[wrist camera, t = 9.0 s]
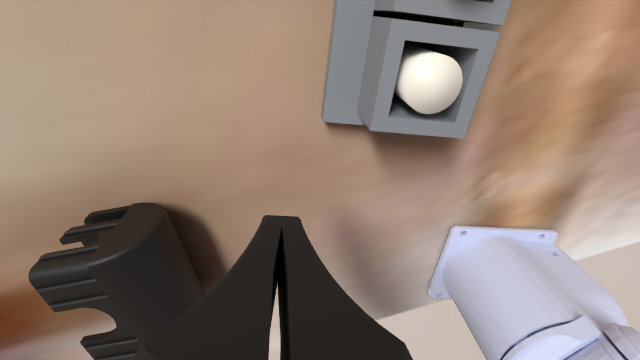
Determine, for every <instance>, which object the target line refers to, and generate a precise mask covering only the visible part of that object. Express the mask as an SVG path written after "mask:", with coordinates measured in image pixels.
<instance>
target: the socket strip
mask: <svg viewBox="0 0 640 360" xmlns="http://www.w3.org/2000/svg"><path fill="white" fill-rule="evenodd" d="M511 1H512V0H335V4H334V12H333V21H332V29H331V37H330V46H329V54H328V63H327V71H326V80H325V88H324V96H323V105H322V113H321V117H322V121H323V122H331V123H343V124H355V125H366V126H367V127H368V129H369V130H370V131H379V132H391V133H403V134H415V135H427V136H439V137H451V138H463V139H464V138H465V135H466V132H467V129H468V126H469V123H470V120H471V117H472V115H473V112H474V109H475V106H476V103H477V100H478V97H479V94H480V91H481V88H482V85H483V82H484V80H485V77H486V74H487V71H488V68H489V65H490V62H491V59H492V56H493V53H494V50H495V47H496V45H497V42H498V39H499V36H500V33H501V32H496V29H497V26H498V25H503V24H504V21H505V18H506V15H507V12H508V10H509V7H510V4H511ZM374 11H382V12H389V13H397V14H404V15H412V16H420V17H427V18H435V19H442V20H450V21H454V25H453V26H447V25H440V24H432V23H424V22H416V21H409V20H401V19H393V18H385V17H375V16H373V12H374ZM405 40H408V41H416V42H425V43H433V44H435V47H434V52H437V53H440V54H443V55H446V56H449V57H451V58H453V59H454V60H455V61H456V62H457V63H458V65H459V66H460V68H461V71H462V77H463V81H462V87H461V90H460V92H459V94H458V96H457V98H456V99H455V101H454V102H453V103H452V104H451V105H450V106H449V107H447V108H446V109H444V110H442V111H440V112H438V113H434V114H423V113H420V112H418V111H416V110H414V109H413V108H412V107H411V106H409V105H408V104H407V103H406V102H404V101H403V100H402V99H401V98H400V97H393V93H394V88H395V84H396V79H397V75H398V70H399V65H400V61H401V56H402V52H403V47H404V43H405Z"/></svg>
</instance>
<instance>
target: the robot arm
mask: <svg viewBox="0 0 640 360" xmlns="http://www.w3.org/2000/svg"><path fill="white" fill-rule="evenodd" d="M463 231H464V232H463ZM461 232H463V233H461ZM557 237H558V234H557V233H556V232H555V231H554V230H538V229H517V228H495V227H473V226H455V227H453V228H452V229H451V230H450V232H449V235H448V238H447V240H446V243H445V246H444V249H443V251H442V254H441V257H440V259H439V262H438V265H437V267H436V270H435V273H434V275H433V278H432V281H431V283H430V286H429V289H428V291H427V295H428V297H429V298H431V299H453V300H454V302H455V304H456V305H457V307H458V309H459V311H460V312H461V315H462V316H463V318H464V320H465V322H466V323H467V325H468V327H469V329H470V331H471V333H472V334H473V336H474V338H475V340H476V341H477V343H478V345H479V347H480V349H481V350H482V352H483V354H484V355H485V357H486V359H487V360H640V333H639V332H638V331H636V330H635V329H633V328H632V327H628V323H627V319H626V317H625V315H624V312H623V311H622V308H621V307H620V305H619V304H618V302H617V301H616V299H615V298H614V297H613V296H612V295H611V294H610V293H609V292H608V291H607V290H606V289H605V288H604V287H603V286H601V284H599V283H598V282H597V281H596V280H595V279H594V278H593V277H592V276H590V275H589V274H588V273H587V272H586V271H585V270H584V269H583V268H582V267H580V266H579V265H578V264H577V263H576V262H575V261H574V260H573V259H571V258H570V257H569V256H568V255H567V254H566V253H565V252H564V251H562V250H561V249H560V248H559V247H558V246H557V245H556V244H555V243H554V242H555V241H556V239H557ZM277 281H278V300H279V317H280V335H281V353H280V360H413V359H412V357H411V355H410V353H409V351H408V349H407V347H406V345H405V343H404V342H402V341H401V340H400V339H398V338H397V337H396V336H394V335H393V334H392V333H390V332H389V331H388V330H386V329H385V328H383V327H382V326H381V325H379V324H378V323H377V322H376V321H375V320H374V319H372V318H371V317H370V316H369V315H368V314H366V313H365V312H364V311H363V310H362V309H361V308H360V307H359V306H358V305H357V304H356V303H355V302H354V301H353V300H352V299H351V298H350V297H349V296H348V295H347V294H346V293H345V291H344V290H343V289H342V288H341V287H340V286H339V284H338V283H337V282H336V281H335V280H334V278H333V277H332V276H331V274H330V273H329V272H328V270H327V269H326V267H325V266H324V264H323V263H322V261H321V260H320V258H319V257H318V255H317V253H316V252H315V250H314V248H313V246H312V245H311V243H310V241H309V239H308V237H307V235H306V233H305V231H304V228H303V226H302V223H301V220H300V219H299V217H292V216H273V215H265V216H264V217H263V218H262V221H261V224H260V226H259V228H258V230H257V232H256V234H255V235H254V237H253V239H252V240H251V242H250V243H249V245H248V246H247V248H246V249H245V251H244V252H243V254H242V255H241V256H240V258H239V259H238V260H237V262H236V263H235V264H234V265H233V267H232V268H231V269H230V270H229V271H228V273H227V274H226V275H225V276H224V277H223V278H222V279H221V280H220V281H219V282H218V284H217V285H215V286H214V287H213V288H212V289H211V290H210V291H209V292H208V293H207V294H206V295H205V296H204V297H203V298H202V299H201V300H200V301H199V302H198V303H196V304H195V305H194V306H193V307H191V308H190V309H189V310H188V311H187V312H185V313H184V314H183V315H182V316H180V317H179V318H178V319H177V320H175V321H174V322H173V323H171V324H170V325H169V326H167V327H166V328H164V329H163V330H161V331H160V332H159V333H157V334H156V335H154V336H153V337H151V338H150V339H148V340H147V341H145V342H144V343H142V344H141V346H140V347H139V348H138V350H137V352H136V353H135V355H134V356H133V358H132V359H131V360H268V354H269V337H270V327H271V320H272V314H273V307H274V301H275V294H276V288H277Z"/></svg>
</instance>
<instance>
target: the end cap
mask: <svg viewBox="0 0 640 360" xmlns="http://www.w3.org/2000/svg"><path fill="white" fill-rule="evenodd" d="M84 223H85V225H83V226H78V227H73V228H71V229H69V230H68V231H66V232H65V233H64V235H63V236H62V237H61V238H60V242H61V243H62V245H64V244H70V243H75V242H82V244H83V245H84V247H79V248H74V249H68V250H63V251H57V252H52V253H46V254H45V255H42V256H41V257H40V259H39V261H38V262H37V263H36V264H35V265H34V266H33V267H32V268H31V269H30V272H29V281H30V283H31V284H32V286H33V287H34V288H35V289H36V291H37V292H38V293H39V294H40V295H41V296H42V298H43V299H44V300H45V301H46V302H47V304H48V305H49V306H50V308H51V309H52V310H53V311H54V312H60V311H66V310H71V309H77V308H94V309H98V310H101V311H103V312H105V313H107V314H109V315H110V316H111V317H112V318H113V319H114V320H115V322H116V328H115V329H114V330H112V331H109V332H105V333H100V334H94V335H89V336H84V337H83V339H82V340H81V342H80V343H81V344H82V346H83V347H84V348H85V349H86V351H87V352H88V353H89V354H90V355H91V356H92V358H93V359H94V360H131V359H132V358H133V356H134V355H135V353H136V352H137V350H138V348H139V347H140V346H141V344H142V343H144V342H145V341H147V340H148V339H150V338H151V337H153V336H154V335H156V334H157V333H159V332H160V331H161V330H163V329H164V328H166V327H167V326H169V325H170V324H171V323H173V322H174V321H175V320H177V319H178V318H179V317H180V316H182V315H183V314H184V313H185V312H187V311H188V310H189V309H190V308H191V307H193V306H194V305H195V304H196V303H198V302H199V301H200V300H201V299H202V298H203V297H204V296H205V295H206V294H205V292H204V290H203V287H202V285H201V283H200V281H199V279H198V277H197V275H196V273H195V271H194V268H193V266H192V264H191V262H190V260H189V258H188V256H187V254H186V252H185V249H184V247H183V245H182V243H181V241H180V239H179V237H178V235H177V233H176V231H175V228H174V226H173V224H172V222H171V220H170V218H169V216H168V214H167V212H166V210H165V209H164V208H163V207H162V206H161V205H158V204H156V203H149V202H148V203H135V204H132V205H130V206H124V207H119V208H113V209H108V210H102V211H97V212H93V213H90V214H89V215H88V216H87V217H86V218H85V220H84Z"/></svg>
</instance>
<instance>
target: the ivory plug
mask: <svg viewBox="0 0 640 360" xmlns="http://www.w3.org/2000/svg"><path fill="white" fill-rule="evenodd" d="M462 81H463V77H462V71H461V68H460V66H459V65H458V63H457V62H456V61H455V60H454V59H453V58H451V57H449V56H446V55H443V54H440V53H437V52H434V51H430V50H427V49H424V48H421V47H417V46H414V45H410V44H404V47H403V52H402V56H401V61H400V65H399V70H398V75H397V79H396V84H395V88H394V93H395V94H396V95H397V96H398V97H400V98H401V99H402V100H403V101H404V102H406V103H407V104H408V105H409V106H411V107H412V108H413V109H414V110H416V111H418V112H420V113H423V114H434V113H438V112H440V111H442V110H444V109H446V108H447V107H449V106H450V105H451V104H452V103H453V102H454V101H455V99H456V98H457V96H458V94H459V92H460V90H461V87H462Z"/></svg>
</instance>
